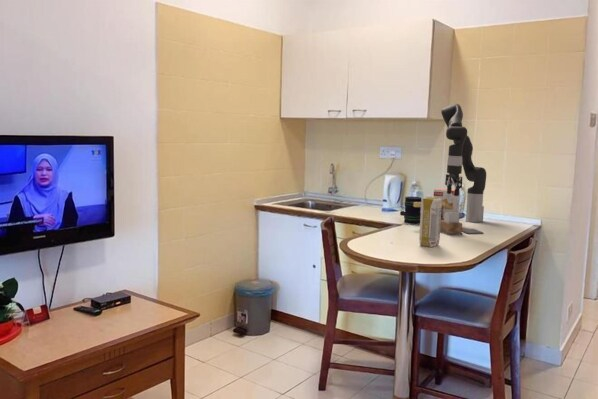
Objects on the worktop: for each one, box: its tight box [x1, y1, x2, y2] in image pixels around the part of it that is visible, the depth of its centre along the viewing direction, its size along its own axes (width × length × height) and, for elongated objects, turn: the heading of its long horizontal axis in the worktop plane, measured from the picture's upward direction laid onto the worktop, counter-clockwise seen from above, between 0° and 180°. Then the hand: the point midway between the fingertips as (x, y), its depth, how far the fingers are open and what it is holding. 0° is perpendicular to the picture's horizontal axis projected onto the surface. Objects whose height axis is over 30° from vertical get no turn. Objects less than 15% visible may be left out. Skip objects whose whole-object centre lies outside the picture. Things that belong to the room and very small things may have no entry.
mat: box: [462, 228, 485, 235], centre depth 285 cm, size 9×10×1 cm
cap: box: [444, 212, 460, 223], centre depth 281 cm, size 6×5×5 cm
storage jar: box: [403, 196, 423, 225], centre depth 311 cm, size 10×10×15 cm
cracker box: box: [433, 188, 461, 217], centre depth 304 cm, size 14×6×21 cm, turn 62°
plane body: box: [440, 217, 464, 236], centre depth 287 cm, size 9×21×6 cm, turn 11°
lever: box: [413, 202, 445, 218], centre depth 291 cm, size 18×4×9 cm, turn 99°
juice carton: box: [418, 195, 442, 248], centre depth 249 cm, size 9×8×24 cm
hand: (452, 194), depth 279 cm, fingers open, 8 cm apart
